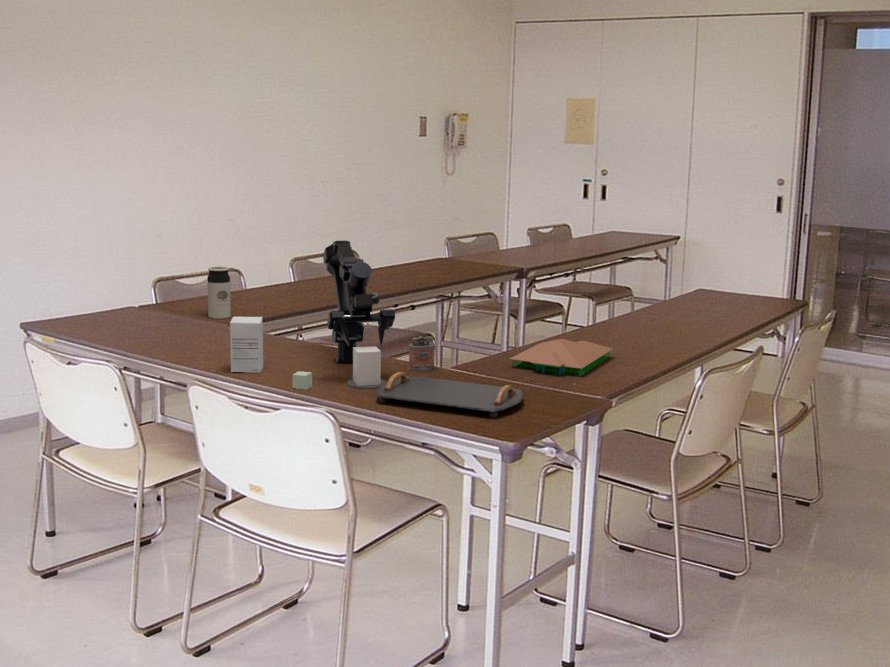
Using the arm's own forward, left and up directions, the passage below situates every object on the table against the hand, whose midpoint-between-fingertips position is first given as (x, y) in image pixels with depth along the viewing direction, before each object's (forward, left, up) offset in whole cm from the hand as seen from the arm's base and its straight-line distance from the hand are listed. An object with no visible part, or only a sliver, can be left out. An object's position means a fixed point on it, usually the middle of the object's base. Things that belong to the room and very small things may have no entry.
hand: (365, 344), depth 296 cm
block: (+4, -18, -11) cm, 21 cm away
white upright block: (+2, 0, -10) cm, 11 cm away
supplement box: (-18, -33, -11) cm, 39 cm away
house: (-17, +62, -12) cm, 66 cm away
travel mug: (-98, -43, -11) cm, 108 cm away
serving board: (+21, +20, -12) cm, 32 cm away
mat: (+2, 0, -11) cm, 11 cm away
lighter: (-13, +18, -11) cm, 25 cm away
